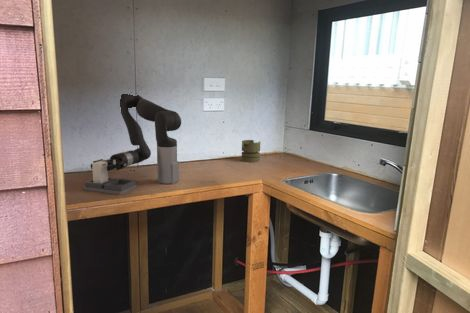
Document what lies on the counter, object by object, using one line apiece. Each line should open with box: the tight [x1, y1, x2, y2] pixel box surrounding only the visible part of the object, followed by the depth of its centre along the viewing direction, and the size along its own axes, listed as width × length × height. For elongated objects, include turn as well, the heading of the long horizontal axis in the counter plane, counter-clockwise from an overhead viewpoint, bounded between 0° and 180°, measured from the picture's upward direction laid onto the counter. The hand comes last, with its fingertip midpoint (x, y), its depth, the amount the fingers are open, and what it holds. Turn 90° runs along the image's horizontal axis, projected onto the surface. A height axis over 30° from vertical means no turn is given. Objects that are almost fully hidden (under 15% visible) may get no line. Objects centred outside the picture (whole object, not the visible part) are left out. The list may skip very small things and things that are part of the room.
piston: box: [241, 139, 261, 164], centre depth 225 cm, size 11×12×11 cm
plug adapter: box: [91, 161, 109, 183], centre depth 162 cm, size 4×5×10 cm
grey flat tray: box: [82, 176, 138, 195], centre depth 161 cm, size 19×12×3 cm, turn 71°
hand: (99, 167), depth 160 cm, fingers open, 8 cm apart
